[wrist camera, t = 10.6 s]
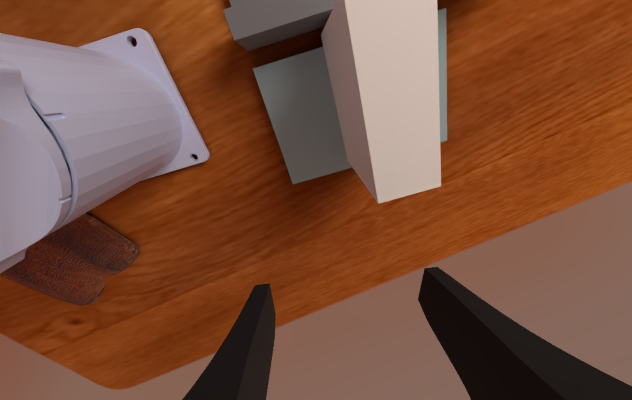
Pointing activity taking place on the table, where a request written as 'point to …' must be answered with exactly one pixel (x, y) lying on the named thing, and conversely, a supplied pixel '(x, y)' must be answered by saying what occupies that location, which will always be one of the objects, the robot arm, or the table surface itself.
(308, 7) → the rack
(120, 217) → the table surface
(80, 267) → the wooden tablet
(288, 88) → the mat
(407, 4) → the white rectangular block
